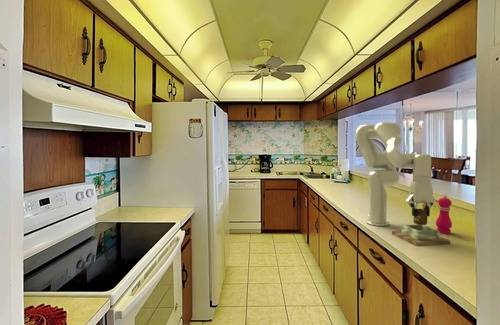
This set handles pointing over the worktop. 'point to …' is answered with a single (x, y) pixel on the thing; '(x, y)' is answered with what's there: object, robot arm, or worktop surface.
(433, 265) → the worktop surface
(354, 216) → the worktop surface
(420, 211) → the utensil holder
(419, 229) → the collar stand
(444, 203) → the pepper mill
